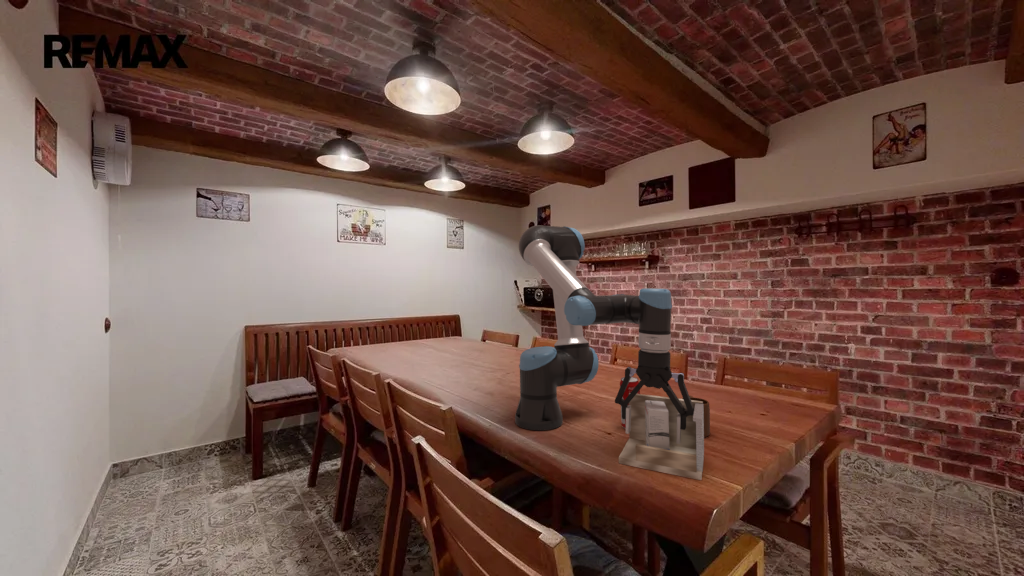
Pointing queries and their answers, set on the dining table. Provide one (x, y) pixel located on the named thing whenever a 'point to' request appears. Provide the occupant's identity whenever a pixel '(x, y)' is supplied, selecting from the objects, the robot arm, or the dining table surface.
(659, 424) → the ink box
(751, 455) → the dining table surface
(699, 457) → the bookend
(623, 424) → the beverage can
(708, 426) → the mug
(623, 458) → the shelf
